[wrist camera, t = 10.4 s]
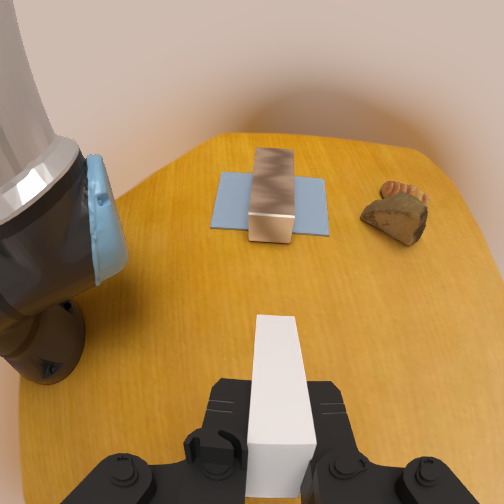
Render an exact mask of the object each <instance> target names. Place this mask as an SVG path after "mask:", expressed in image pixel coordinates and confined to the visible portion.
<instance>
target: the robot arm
mask: <svg viewBox="0 0 504 504" xmlns="http://www.w3.org/2000/svg"><path fill="white" fill-rule="evenodd" d="M128 257H129V253H128V248H127V244H126V240H125V236H124V232H123V229H122V225H121V221H120V218H119V214H118V211H117V207H116V203H115V200H114V196H113V193H112V189H111V185H110V182H109V178H108V175H107V171H106V168H105V165H104V163H103V159H102V157H101V156H100V155H99V154H95V155H91V154H90V155H88V156H87V158H86V159H85V158H84V157H83V155H82V153H81V151H80V148H79V146H78V144H77V142H76V141H75V140H73V139H70V138H66V137H62V136H58V135H56V134H55V133H54V131H53V129H52V126H51V124H50V122H49V119H48V117H47V114H46V112H45V109H44V106H43V104H42V101H41V98H40V96H39V93H38V90H37V87H36V85H35V82H34V79H33V76H32V73H31V70H30V66H29V63H28V60H27V57H26V53H25V50H24V46H23V42H22V39H21V35H20V31H19V27H18V23H17V18H16V15H15V9H14V4H13V0H0V356H1V357H4V359H5V360H6V361H7V362H8V363H9V364H11V366H12V367H13V368H14V369H16V370H17V371H18V372H19V373H20V374H21V375H22V376H23V377H25V378H27V379H28V380H31V381H34V382H37V383H40V384H54V383H57V382H59V381H61V380H63V379H64V378H65V377H67V376H68V375H69V374H70V373H71V371H72V370H73V369H74V368H75V366H76V364H77V363H78V361H79V358H80V356H81V353H82V350H83V346H84V340H85V325H84V319H83V315H82V313H81V310H80V308H79V306H78V305H77V303H76V302H75V301H74V299H73V298H72V297H74V296H76V295H78V294H80V293H82V292H84V291H87V290H89V289H91V288H93V287H95V286H96V287H97V286H99V285H100V284H101V282H103V281H105V280H106V279H108V278H110V277H112V276H114V275H115V274H117V273H119V272H121V271H122V270H123V269H124V267H125V266H126V264H127V262H128ZM183 444H184V450H185V455H186V459H185V460H183V461H180V462H178V463H173V464H163V465H148V464H147V462H145V461H144V460H143V459H141V458H140V457H138V456H135V455H132V454H128V453H117V454H114V455H110V456H108V457H106V458H105V459H103V460H102V461H101V462H100V463H99V464H98V465H97V466H96V467H95V468H94V469H93V470H92V471H91V472H90V473H89V474H88V475H87V476H86V478H85V479H84V480H83V481H82V482H81V483H80V484H79V485H78V486H77V487H76V488H75V489H74V490H73V491H72V492H71V493H70V494H69V495H68V496H67V497H66V498H65V499H64V500H63V501H62V502H61V503H60V504H245V497H261V498H298V496H299V494H300V491H301V504H479V502H478V501H477V500H476V499H475V498H474V497H473V495H472V494H471V493H470V492H469V491H468V490H467V488H466V487H465V486H464V485H463V484H462V483H461V481H460V480H459V479H458V478H457V477H456V475H455V474H454V473H453V472H452V471H451V470H450V468H449V467H448V466H447V465H446V464H445V463H443V462H442V461H441V460H439V459H437V458H434V457H420V458H416V459H414V460H412V461H411V462H410V463H408V464H407V466H406V467H405V468H400V467H388V466H381V465H376V464H374V463H371V462H370V461H369V460H368V458H367V457H366V456H364V455H363V454H362V453H360V452H359V451H358V448H357V446H356V442H355V439H354V435H353V432H352V429H351V425H350V422H349V418H348V415H347V414H346V408H345V405H344V404H343V399H342V395H341V392H340V390H339V389H338V388H337V387H336V386H335V385H334V384H333V383H332V382H331V381H306V376H305V371H304V365H303V360H302V354H301V349H300V343H299V338H298V333H297V327H296V322H295V317H294V316H273V315H257V321H256V334H255V348H254V361H253V375H252V381H251V380H237V379H225V378H221V379H220V380H219V381H218V382H217V383H216V384H215V385H214V386H213V387H212V390H211V394H210V397H209V401H208V405H207V411H206V413H205V417H204V421H203V425H202V428H199V429H196V430H195V431H193V432H192V433H191V434H189V435H188V436H187V438H186V440H185V441H184V443H183Z"/></svg>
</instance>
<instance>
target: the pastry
mask: <svg viewBox="0 0 504 504" xmlns="http://www.w3.org/2000/svg"><path fill="white" fill-rule="evenodd" d="M399 191H403V192H405V193H408V194H410V195H413V196H415V197H417V198H418V199H419V200H420V201H422V204H423V205H425V206H428V203H429V196H428V194H424V193H423V192H421V191H420V190H419V189H417V188H415V187H414V186H412V185H406V184H401V183H399V182H394V181H393V182H391V181H388V182H386V183H385V184H383V186H382V187H381V193H382V196H383V198H387V197H389V196H392V195H395V194H397V193H398V192H399Z"/></svg>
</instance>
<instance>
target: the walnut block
mask: <svg viewBox="0 0 504 504" xmlns="http://www.w3.org/2000/svg"><path fill="white" fill-rule="evenodd" d="M294 220H295V188H294V150H289V149H275V148H259V147H256V153H255V161H254V170H253V179H252V187H251V196H250V204H249V213H248V225H249V241H263V242H277V243H290V241H291V236H292V230H293V225H294Z"/></svg>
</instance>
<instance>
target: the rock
mask: <svg viewBox="0 0 504 504" xmlns="http://www.w3.org/2000/svg"><path fill="white" fill-rule="evenodd" d="M427 213H428V212H427V206H425V205H423V204H422V201H420V200H419V199H418V198H417V197H415V196H413V195H410V194H408V193H405V192H403V191H399V192H398V193H397V194H395V195H392V196H389V197H387V198H384V199H382V200H375V201H374V202H372V204H370V205H368V206H366V208H365V209H364V211H363V213H362V214H361V217H360V218H361V219H362V220H363V221H365V222H367V223H369V224H371V225H373V226H375V227H376V228H378V229H380V230H382V231H384V232H385V233H387V234H388V235H390V236H392V237H393V238H394V239H397V240H399V241H401V242H402V243H403V244H405V245H408V246H410V245H412V244H414V243H415V242H417V241H418V240H419V238H420V237H421V235H422V233H423V231H424V229H425V226H426V221H427V220H426V219H427Z"/></svg>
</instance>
